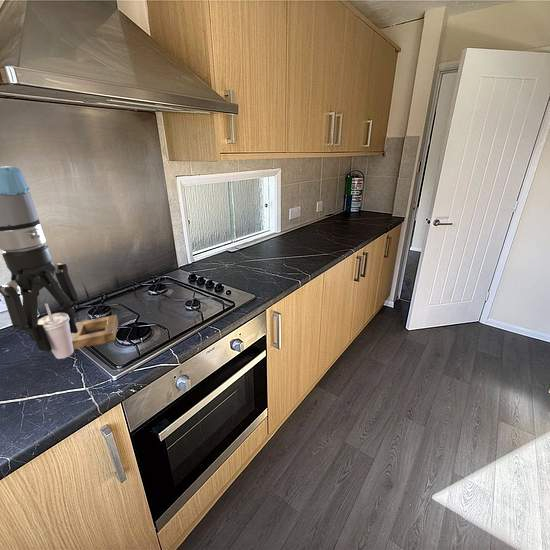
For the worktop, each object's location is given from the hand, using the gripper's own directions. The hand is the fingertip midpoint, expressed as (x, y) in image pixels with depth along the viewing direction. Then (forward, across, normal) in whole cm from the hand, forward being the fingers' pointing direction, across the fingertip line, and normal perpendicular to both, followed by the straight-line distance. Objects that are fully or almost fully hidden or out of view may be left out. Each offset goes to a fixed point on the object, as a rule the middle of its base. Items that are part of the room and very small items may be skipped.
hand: (59, 340), depth 69 cm
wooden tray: (+14, +20, +12) cm, 28 cm away
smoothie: (+4, 0, 0) cm, 4 cm away
